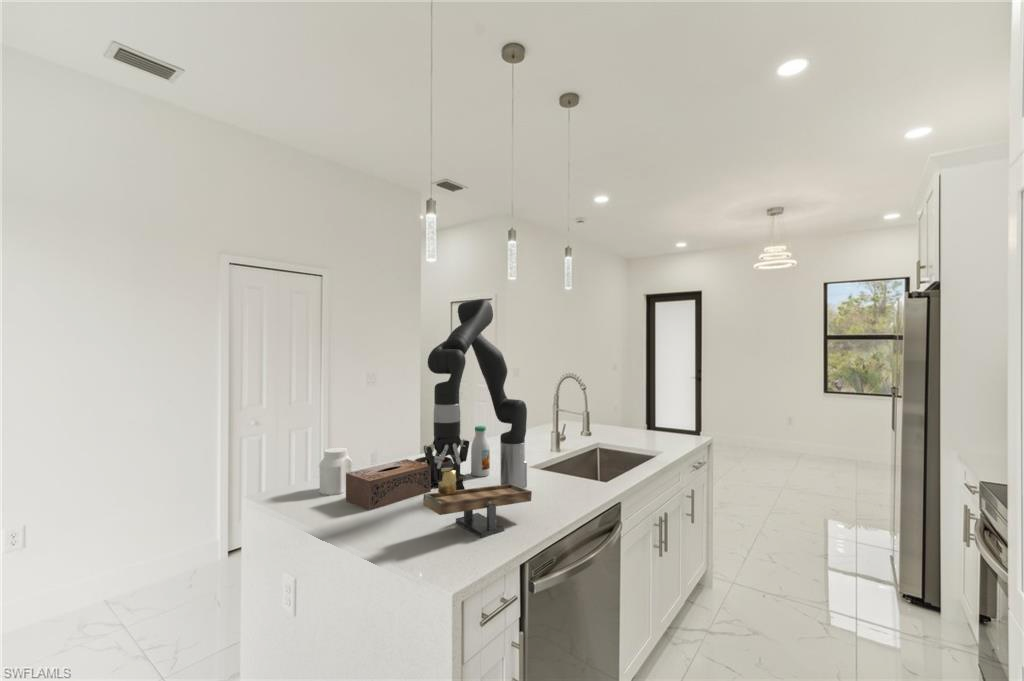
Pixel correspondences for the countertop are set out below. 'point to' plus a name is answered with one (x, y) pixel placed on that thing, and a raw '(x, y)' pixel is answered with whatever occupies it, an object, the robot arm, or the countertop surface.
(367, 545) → the countertop surface
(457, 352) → the robot arm
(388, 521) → the countertop surface
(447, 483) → the cylinder
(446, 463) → the casserole
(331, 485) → the jar
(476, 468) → the milk bottle
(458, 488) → the mate gourd
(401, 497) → the tissue box cover
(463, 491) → the beam
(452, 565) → the countertop surface
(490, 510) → the pivot stand
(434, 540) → the countertop surface
